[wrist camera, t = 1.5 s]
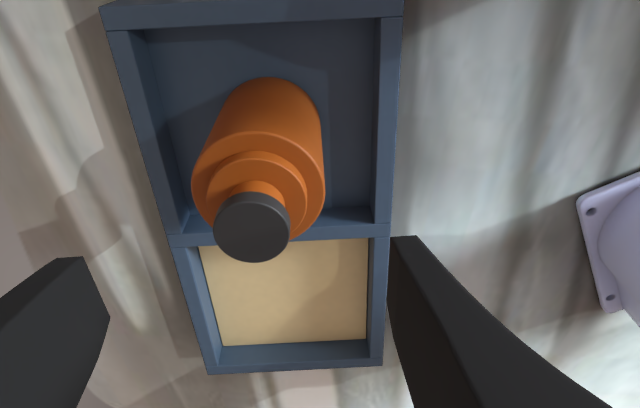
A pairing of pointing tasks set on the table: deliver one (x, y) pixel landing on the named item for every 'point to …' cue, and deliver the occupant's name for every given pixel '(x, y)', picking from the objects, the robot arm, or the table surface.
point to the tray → (338, 159)
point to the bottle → (261, 170)
